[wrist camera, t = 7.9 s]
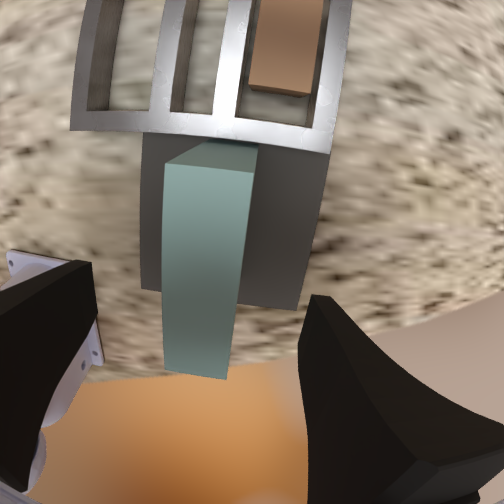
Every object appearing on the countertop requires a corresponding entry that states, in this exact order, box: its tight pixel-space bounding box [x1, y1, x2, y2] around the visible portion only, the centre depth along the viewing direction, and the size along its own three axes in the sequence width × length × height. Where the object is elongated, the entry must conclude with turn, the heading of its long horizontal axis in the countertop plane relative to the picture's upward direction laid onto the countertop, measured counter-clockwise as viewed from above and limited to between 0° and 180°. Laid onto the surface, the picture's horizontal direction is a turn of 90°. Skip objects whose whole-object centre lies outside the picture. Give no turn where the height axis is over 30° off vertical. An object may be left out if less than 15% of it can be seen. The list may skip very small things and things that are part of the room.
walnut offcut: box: [248, 0, 323, 98], centre depth 12 cm, size 5×2×4 cm, turn 172°
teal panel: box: [162, 139, 259, 380], centre depth 14 cm, size 8×2×8 cm, turn 172°
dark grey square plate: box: [140, 132, 331, 311], centre depth 18 cm, size 10×10×1 cm
